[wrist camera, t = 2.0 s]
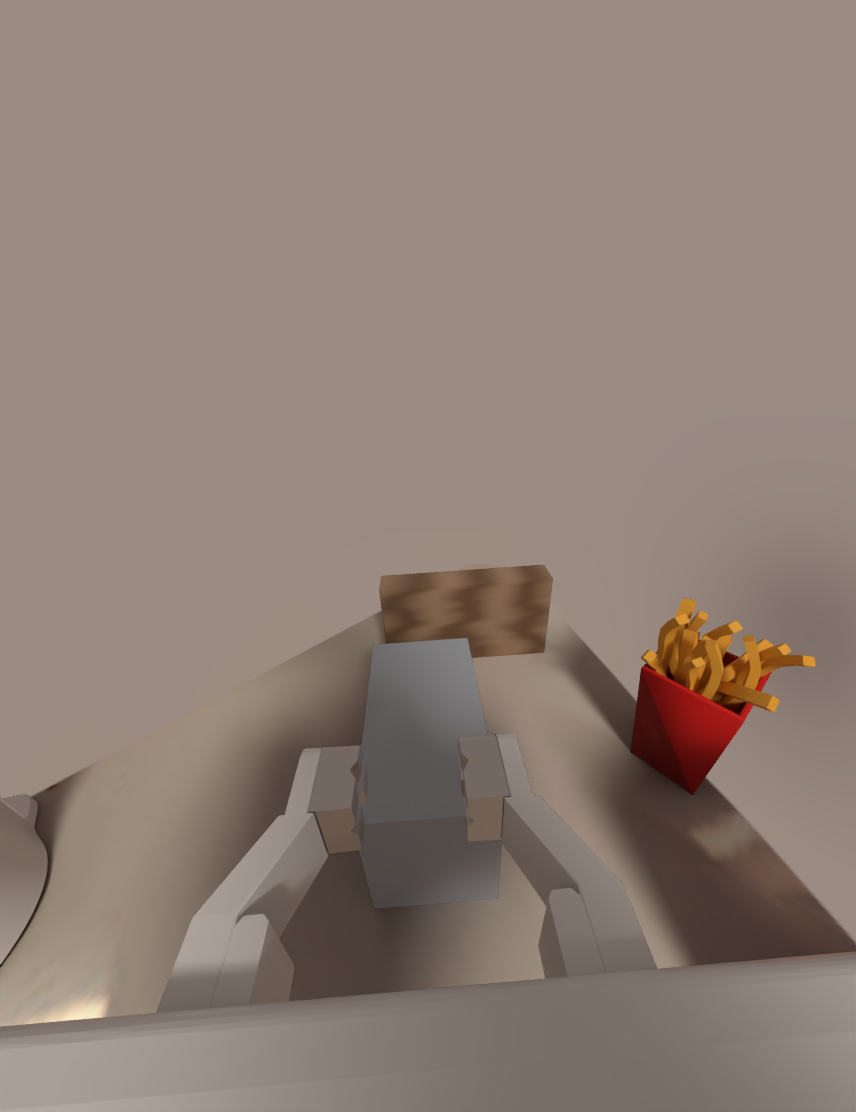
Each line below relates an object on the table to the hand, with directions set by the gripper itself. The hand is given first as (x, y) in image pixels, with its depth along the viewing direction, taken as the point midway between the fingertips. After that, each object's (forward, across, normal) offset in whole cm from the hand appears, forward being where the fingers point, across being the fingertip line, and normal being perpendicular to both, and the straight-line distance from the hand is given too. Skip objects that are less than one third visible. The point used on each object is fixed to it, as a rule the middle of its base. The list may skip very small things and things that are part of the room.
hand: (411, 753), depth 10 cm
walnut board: (+28, -5, +22) cm, 36 cm away
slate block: (+12, 0, +22) cm, 25 cm away
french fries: (+12, -20, +22) cm, 33 cm away
